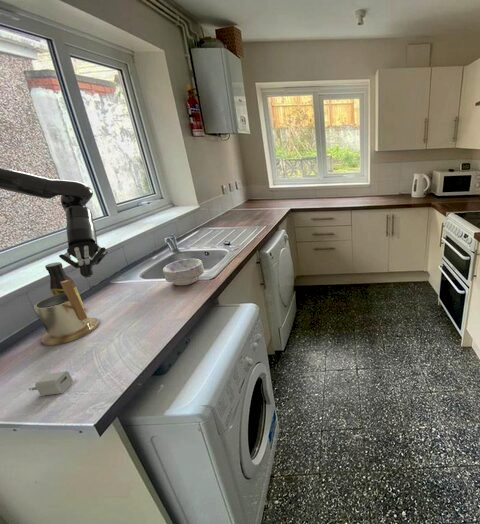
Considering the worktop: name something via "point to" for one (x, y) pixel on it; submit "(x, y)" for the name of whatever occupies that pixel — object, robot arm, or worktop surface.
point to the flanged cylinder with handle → (62, 313)
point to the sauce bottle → (59, 279)
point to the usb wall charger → (53, 383)
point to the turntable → (50, 341)
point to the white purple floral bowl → (183, 271)
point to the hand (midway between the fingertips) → (87, 276)
